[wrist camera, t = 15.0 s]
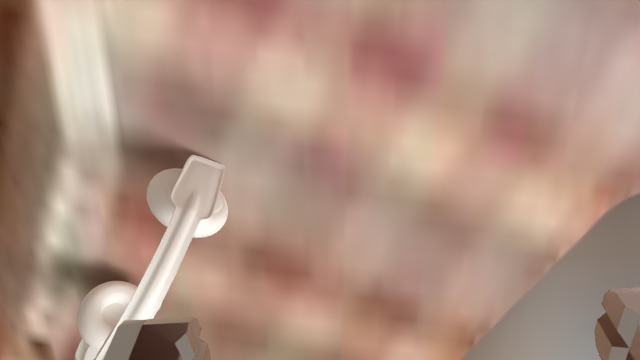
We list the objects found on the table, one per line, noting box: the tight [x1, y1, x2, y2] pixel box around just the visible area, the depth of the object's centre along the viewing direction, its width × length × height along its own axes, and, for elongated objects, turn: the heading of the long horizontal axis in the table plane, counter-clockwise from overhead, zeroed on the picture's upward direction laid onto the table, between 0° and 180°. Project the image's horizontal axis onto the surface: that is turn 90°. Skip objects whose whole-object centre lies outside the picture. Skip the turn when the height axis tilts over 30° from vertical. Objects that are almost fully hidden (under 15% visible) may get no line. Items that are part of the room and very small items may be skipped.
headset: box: [75, 155, 228, 360], centre depth 40 cm, size 20×7×18 cm, turn 146°
